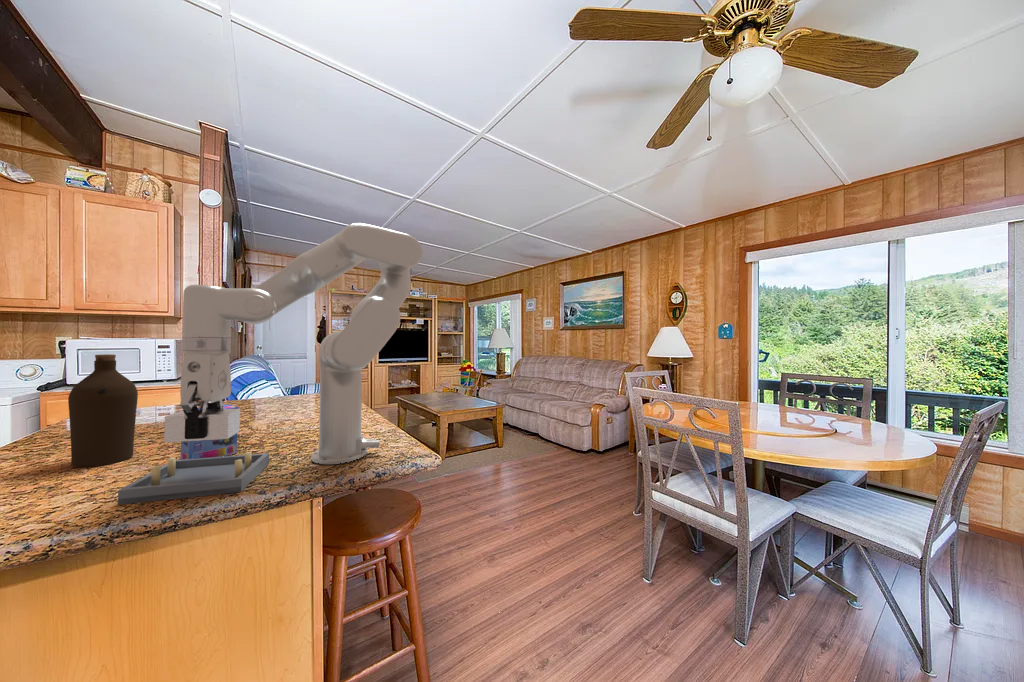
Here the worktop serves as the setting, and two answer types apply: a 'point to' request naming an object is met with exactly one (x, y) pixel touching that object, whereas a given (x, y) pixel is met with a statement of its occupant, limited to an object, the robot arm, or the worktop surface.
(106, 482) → the worktop surface
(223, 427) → the grey rectangular block
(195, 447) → the ink cartridge box
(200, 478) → the pin tray
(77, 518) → the worktop surface
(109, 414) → the olive oil
